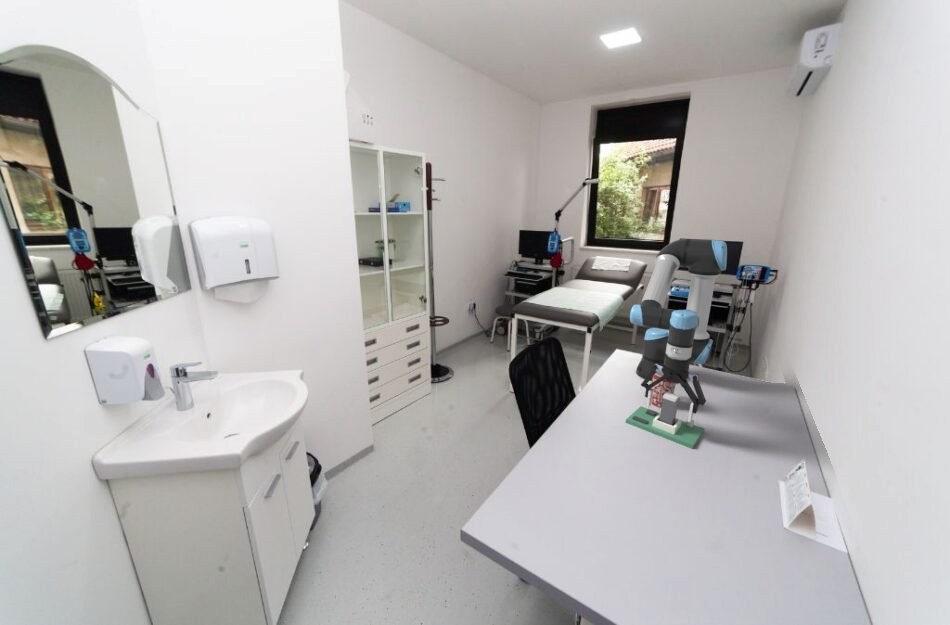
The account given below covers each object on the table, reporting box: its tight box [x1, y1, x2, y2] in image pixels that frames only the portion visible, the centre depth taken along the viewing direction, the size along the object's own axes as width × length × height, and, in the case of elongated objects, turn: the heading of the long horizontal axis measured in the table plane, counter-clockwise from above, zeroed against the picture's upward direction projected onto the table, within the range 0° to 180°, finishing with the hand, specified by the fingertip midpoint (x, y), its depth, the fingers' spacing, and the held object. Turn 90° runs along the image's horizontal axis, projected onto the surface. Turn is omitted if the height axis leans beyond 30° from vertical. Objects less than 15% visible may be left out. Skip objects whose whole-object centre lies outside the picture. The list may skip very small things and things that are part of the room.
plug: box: [659, 392, 680, 426], centre depth 128 cm, size 4×4×12 cm
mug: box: [651, 370, 677, 408], centre depth 147 cm, size 13×9×14 cm
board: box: [625, 405, 705, 449], centre depth 131 cm, size 14×22×4 cm, turn 46°
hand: (668, 413), depth 128 cm, fingers open, 13 cm apart
